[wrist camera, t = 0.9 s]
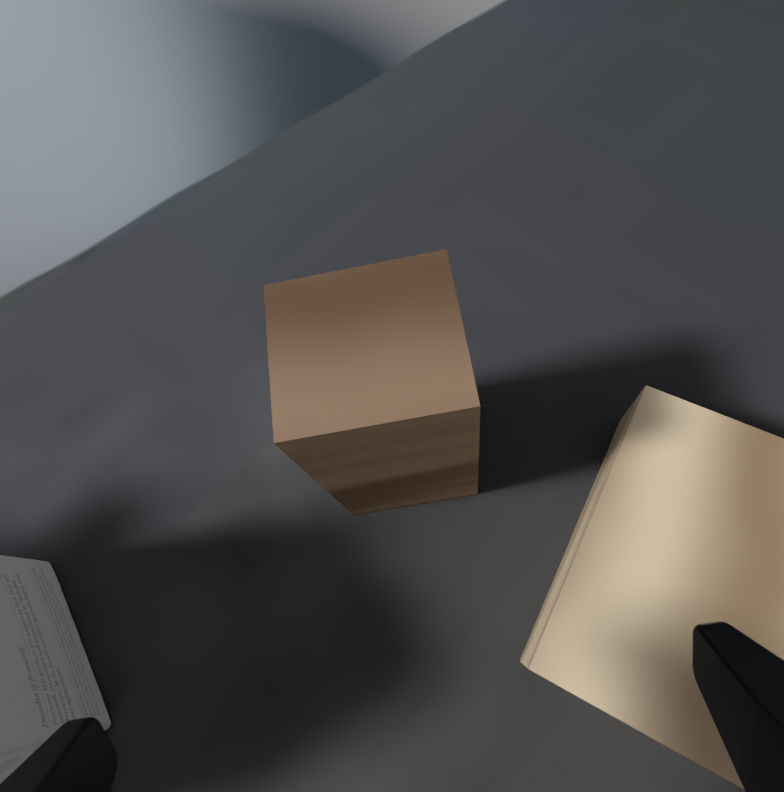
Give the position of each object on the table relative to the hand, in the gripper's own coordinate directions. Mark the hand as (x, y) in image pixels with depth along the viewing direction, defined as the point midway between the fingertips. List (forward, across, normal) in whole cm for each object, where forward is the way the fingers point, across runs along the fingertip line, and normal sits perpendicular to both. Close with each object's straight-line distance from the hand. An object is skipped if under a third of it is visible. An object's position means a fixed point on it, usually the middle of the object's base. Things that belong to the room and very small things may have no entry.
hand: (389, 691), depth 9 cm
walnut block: (+15, 0, +4) cm, 15 cm away
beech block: (+10, -10, +9) cm, 17 cm away
